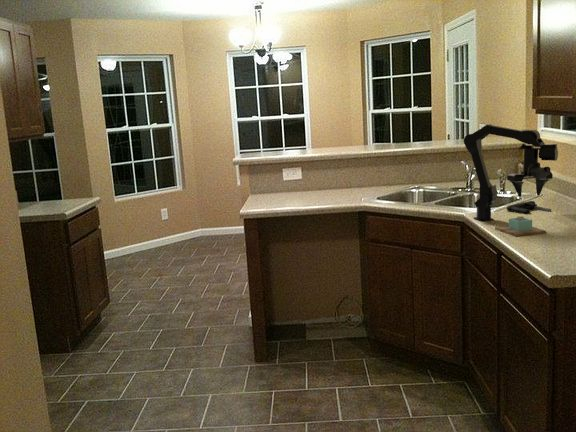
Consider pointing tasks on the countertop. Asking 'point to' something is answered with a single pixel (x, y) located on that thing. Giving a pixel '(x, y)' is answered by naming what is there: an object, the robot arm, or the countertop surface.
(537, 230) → the post plate
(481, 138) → the robot arm
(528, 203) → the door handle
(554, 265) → the countertop surface
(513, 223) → the collar
